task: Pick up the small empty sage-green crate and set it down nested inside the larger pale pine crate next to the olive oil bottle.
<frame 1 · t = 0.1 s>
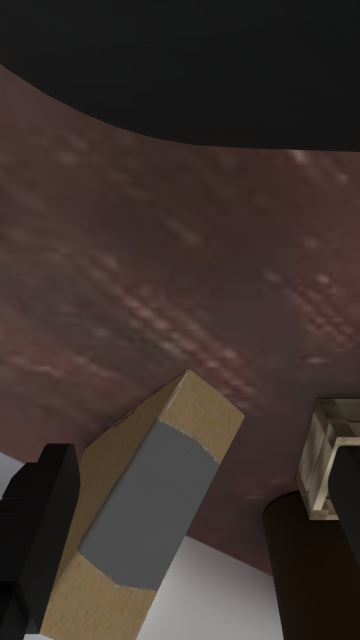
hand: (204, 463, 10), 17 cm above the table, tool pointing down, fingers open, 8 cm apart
olive oil: (299, 512, 41), on the table
sandwich container: (163, 430, 34), on the table
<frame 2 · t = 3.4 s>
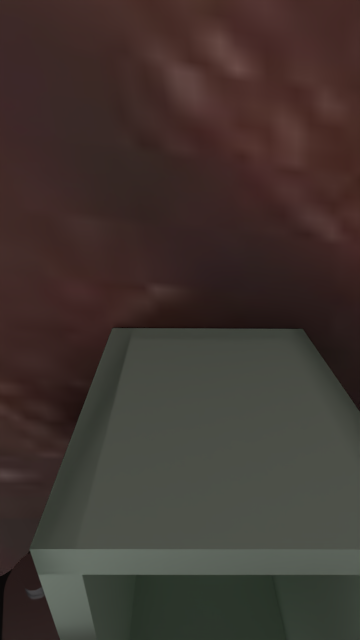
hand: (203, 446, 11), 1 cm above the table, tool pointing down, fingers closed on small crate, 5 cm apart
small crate: (202, 431, 11), on the table, touching gripper
when the fingers open (3 cm above the table, at t = 9.1 s): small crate drops 2 cm, resting on big crate.
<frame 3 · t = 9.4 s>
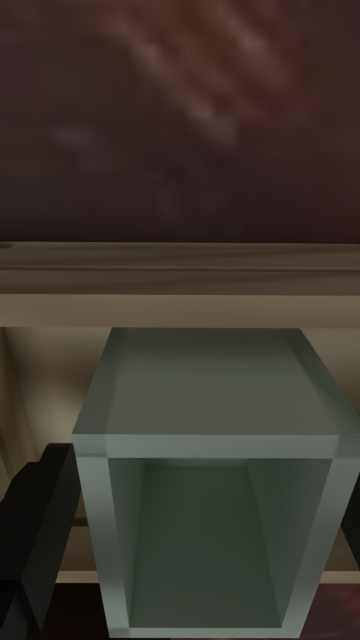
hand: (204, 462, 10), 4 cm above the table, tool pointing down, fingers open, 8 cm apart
olive oil: (89, 550, 20), on the table
big crate: (197, 381, 14), on the table
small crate: (198, 394, 13), point 1 cm above the table, touching big crate
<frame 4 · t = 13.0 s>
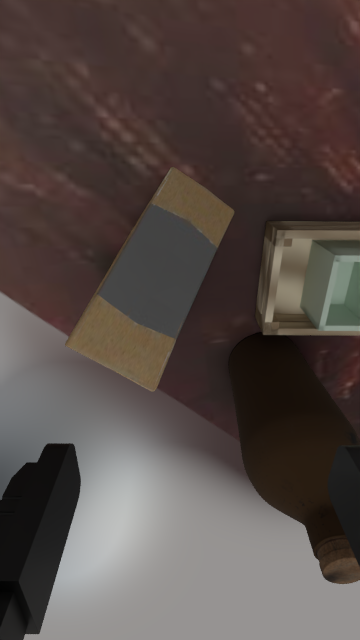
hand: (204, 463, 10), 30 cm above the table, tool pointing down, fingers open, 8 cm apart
olive oil: (262, 361, 45), on the table
big crate: (326, 272, 39), on the table
sandwich container: (166, 247, 38), on the table
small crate: (329, 275, 38), point 1 cm above the table, touching big crate
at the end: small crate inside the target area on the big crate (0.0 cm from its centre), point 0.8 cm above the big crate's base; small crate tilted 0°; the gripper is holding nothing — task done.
